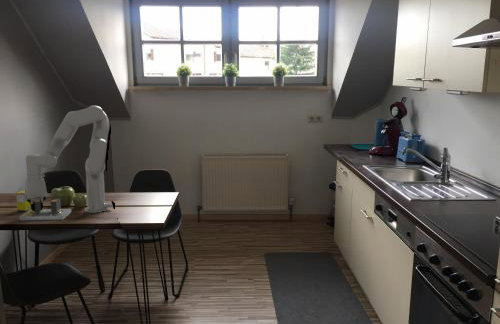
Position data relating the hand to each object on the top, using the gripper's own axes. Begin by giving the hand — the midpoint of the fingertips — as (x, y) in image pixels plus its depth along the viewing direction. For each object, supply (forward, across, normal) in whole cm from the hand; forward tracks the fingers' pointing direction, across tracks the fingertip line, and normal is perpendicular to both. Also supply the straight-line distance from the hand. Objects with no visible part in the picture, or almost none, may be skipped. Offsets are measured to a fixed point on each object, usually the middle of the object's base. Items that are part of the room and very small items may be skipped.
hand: (37, 209), depth 238 cm
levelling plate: (+3, -4, +4) cm, 6 cm away
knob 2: (+1, -8, +6) cm, 10 cm away
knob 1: (+1, 0, 0) cm, 1 cm away
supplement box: (+4, +2, -16) cm, 17 cm away
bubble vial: (+1, -2, +7) cm, 7 cm away
